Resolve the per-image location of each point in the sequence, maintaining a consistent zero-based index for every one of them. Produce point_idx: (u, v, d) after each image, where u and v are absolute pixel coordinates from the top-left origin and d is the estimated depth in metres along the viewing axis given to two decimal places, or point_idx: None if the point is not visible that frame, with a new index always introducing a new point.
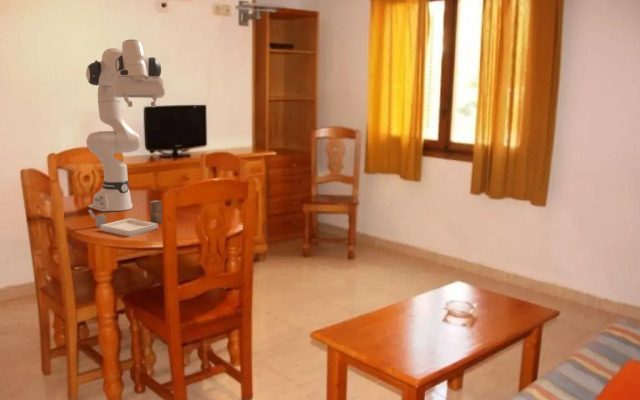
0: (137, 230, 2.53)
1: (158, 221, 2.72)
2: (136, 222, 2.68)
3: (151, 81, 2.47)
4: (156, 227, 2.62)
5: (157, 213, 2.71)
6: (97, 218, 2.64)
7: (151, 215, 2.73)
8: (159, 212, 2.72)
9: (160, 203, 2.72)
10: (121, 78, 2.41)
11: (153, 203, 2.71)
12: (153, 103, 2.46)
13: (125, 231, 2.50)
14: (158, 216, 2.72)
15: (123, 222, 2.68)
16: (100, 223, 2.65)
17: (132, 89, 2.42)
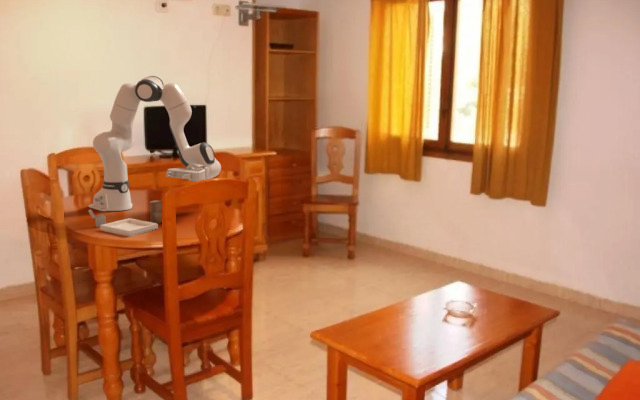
0: (137, 230, 2.53)
1: (158, 221, 2.72)
2: (136, 222, 2.68)
3: None
4: (156, 227, 2.62)
5: (157, 213, 2.71)
6: (97, 218, 2.64)
7: (151, 215, 2.73)
8: (159, 212, 2.72)
9: (160, 203, 2.72)
10: None
11: (153, 203, 2.71)
12: (168, 176, 2.84)
13: (125, 231, 2.50)
14: (158, 216, 2.72)
15: (123, 222, 2.68)
16: (100, 223, 2.65)
17: None
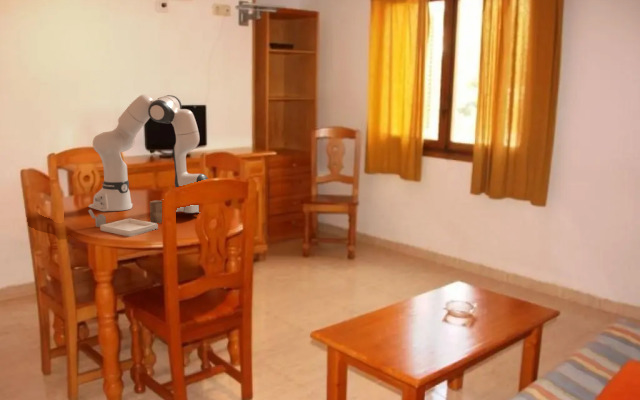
0: (137, 230, 2.53)
1: (158, 221, 2.72)
2: (136, 222, 2.68)
3: None
4: (156, 227, 2.62)
5: (157, 213, 2.71)
6: (97, 218, 2.64)
7: (151, 215, 2.73)
8: (159, 212, 2.72)
9: (160, 203, 2.72)
10: (195, 211, 2.85)
11: (153, 203, 2.71)
12: None
13: (125, 231, 2.50)
14: (158, 216, 2.72)
15: (123, 222, 2.68)
16: (100, 223, 2.65)
17: None
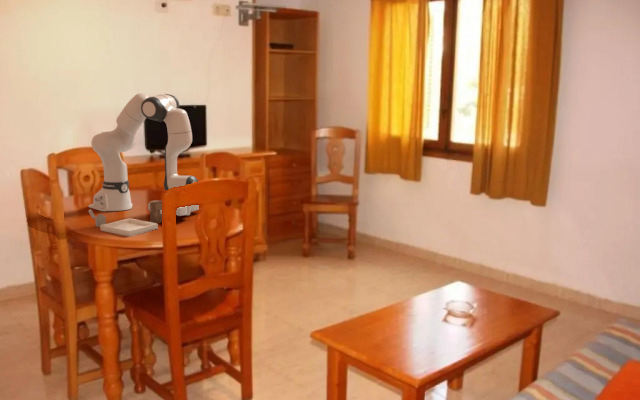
0: (137, 230, 2.53)
1: (158, 221, 2.72)
2: (136, 222, 2.68)
3: None
4: (156, 227, 2.62)
5: (157, 213, 2.71)
6: (97, 218, 2.64)
7: (151, 215, 2.73)
8: None
9: (160, 203, 2.72)
10: None
11: (153, 203, 2.71)
12: None
13: (125, 231, 2.50)
14: (158, 216, 2.72)
15: (123, 222, 2.68)
16: (100, 223, 2.65)
17: None
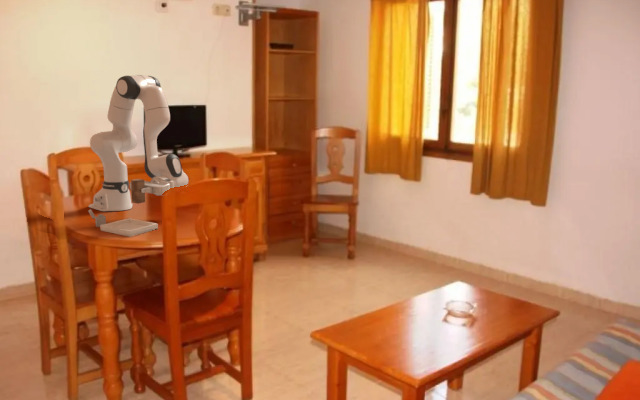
0: (137, 230, 2.53)
1: (140, 200, 2.61)
2: (136, 222, 2.68)
3: None
4: (156, 227, 2.62)
5: (139, 192, 2.60)
6: (97, 218, 2.64)
7: (132, 195, 2.61)
8: None
9: (142, 182, 2.61)
10: None
11: (134, 181, 2.59)
12: None
13: (125, 231, 2.50)
14: (139, 195, 2.61)
15: (123, 222, 2.68)
16: (100, 223, 2.65)
17: None
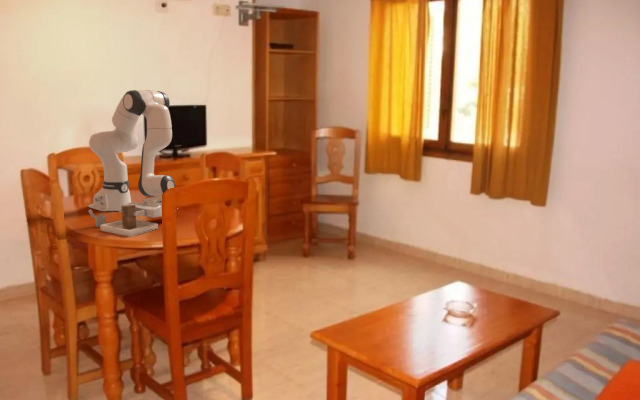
0: (137, 230, 2.53)
1: (131, 226, 2.59)
2: (136, 222, 2.68)
3: None
4: (156, 227, 2.62)
5: (130, 218, 2.58)
6: (97, 218, 2.64)
7: (123, 220, 2.59)
8: (132, 217, 2.59)
9: (133, 207, 2.58)
10: None
11: (125, 207, 2.57)
12: None
13: (125, 231, 2.50)
14: (130, 220, 2.58)
15: None
16: (100, 223, 2.65)
17: None
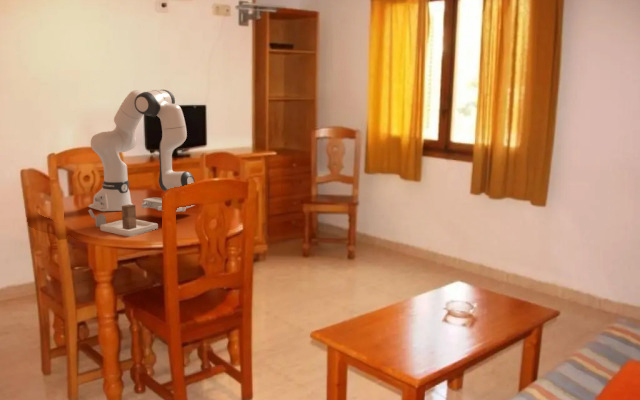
0: (137, 230, 2.53)
1: (131, 226, 2.59)
2: (136, 222, 2.68)
3: None
4: (156, 227, 2.62)
5: (130, 218, 2.58)
6: (97, 218, 2.64)
7: (123, 220, 2.59)
8: (132, 217, 2.59)
9: (133, 207, 2.58)
10: None
11: (125, 207, 2.57)
12: None
13: (125, 231, 2.50)
14: (130, 220, 2.58)
15: None
16: (100, 223, 2.65)
17: None
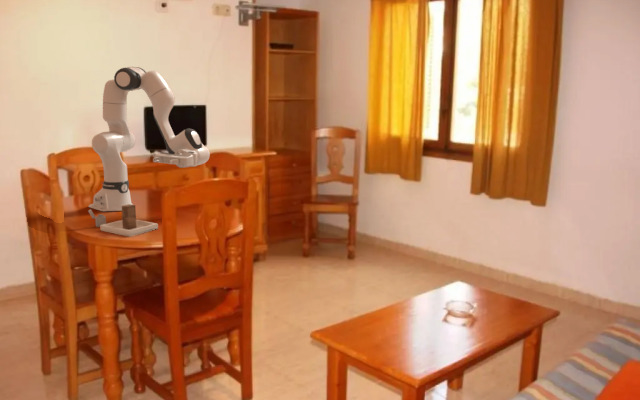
0: (137, 230, 2.53)
1: (131, 226, 2.59)
2: (136, 222, 2.68)
3: None
4: (156, 227, 2.62)
5: (130, 218, 2.58)
6: (97, 218, 2.64)
7: (123, 220, 2.59)
8: (132, 217, 2.59)
9: (133, 207, 2.58)
10: None
11: (125, 207, 2.57)
12: None
13: (125, 231, 2.50)
14: (130, 220, 2.58)
15: None
16: (100, 223, 2.65)
17: None
